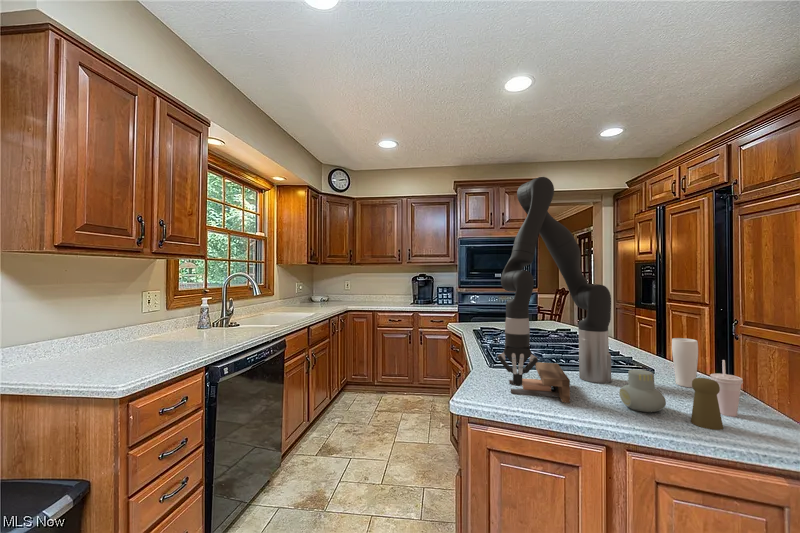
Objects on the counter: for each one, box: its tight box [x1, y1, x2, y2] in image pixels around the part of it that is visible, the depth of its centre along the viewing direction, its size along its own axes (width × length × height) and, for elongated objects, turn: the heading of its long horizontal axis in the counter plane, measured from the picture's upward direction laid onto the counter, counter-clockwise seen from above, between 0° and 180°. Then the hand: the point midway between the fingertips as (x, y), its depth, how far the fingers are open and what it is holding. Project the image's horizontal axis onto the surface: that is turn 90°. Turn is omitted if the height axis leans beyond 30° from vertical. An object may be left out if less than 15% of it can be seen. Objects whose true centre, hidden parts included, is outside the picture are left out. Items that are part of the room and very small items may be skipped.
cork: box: [690, 377, 724, 431], centre depth 87 cm, size 6×6×11 cm
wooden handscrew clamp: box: [508, 361, 571, 404], centre depth 113 cm, size 16×20×6 cm
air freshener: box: [618, 368, 667, 413], centre depth 97 cm, size 11×8×10 cm
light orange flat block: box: [521, 377, 552, 391], centre depth 113 cm, size 8×7×2 cm
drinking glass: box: [671, 337, 699, 389], centre depth 117 cm, size 7×7×15 cm
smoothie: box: [709, 359, 744, 418], centre depth 93 cm, size 6×6×14 cm
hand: (517, 385), depth 115 cm, fingers closed
